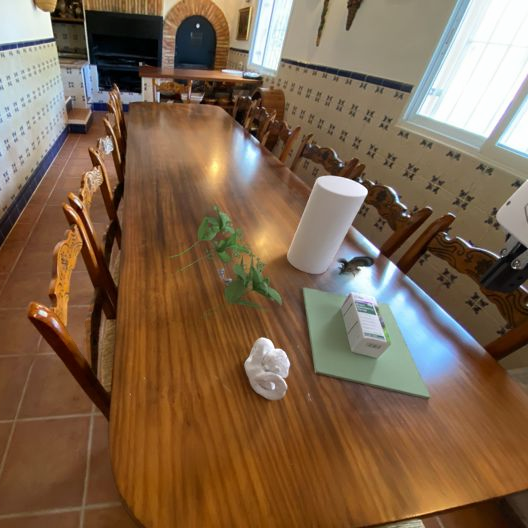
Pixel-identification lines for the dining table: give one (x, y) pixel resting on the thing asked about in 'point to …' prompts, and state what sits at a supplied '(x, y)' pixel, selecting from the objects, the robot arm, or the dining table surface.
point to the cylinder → (325, 223)
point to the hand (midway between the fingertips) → (493, 287)
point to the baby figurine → (267, 369)
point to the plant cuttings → (236, 286)
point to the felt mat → (352, 364)
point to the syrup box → (365, 325)
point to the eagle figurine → (355, 264)
